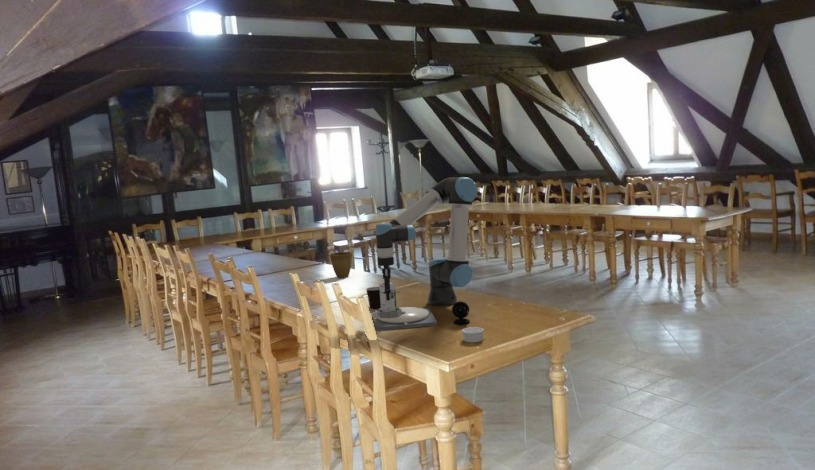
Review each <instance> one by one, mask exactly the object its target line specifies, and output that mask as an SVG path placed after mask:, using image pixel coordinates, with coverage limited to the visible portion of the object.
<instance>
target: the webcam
mask: <svg viewBox="0 0 815 470" xmlns="http://www.w3.org/2000/svg"><path fill="white" fill-rule="evenodd" d="M451 311H452V315H453V316H454V317H455V319H453V321H452V324H454V325H455V326H456V325H457V326H466V325H469V324H470V323H471V322H470V319H468V318H466V317H467V316H468V315H469V314H470V307H469V305H468V304H467V303H466V301H465V302H464V301H457V302H456V303H455V304H452V307H451Z"/></svg>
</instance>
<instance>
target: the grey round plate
mask: <svg viewBox="0 0 815 470" xmlns="http://www.w3.org/2000/svg"><path fill="white" fill-rule="evenodd" d="M423 308H424V307H417V306H416V307H415V306H412V307H411V306H404V307H399V306H398V307H397V312H390V313H384V312H381V308H379V309H378V310H377V311H376V312H377V313H378V320H380V321H382V322H386V323H409V322H415V321H420V320H423V319H425V318H427V317H428V316H429V312H428V310H426V309H423Z"/></svg>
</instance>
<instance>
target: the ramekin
mask: <svg viewBox="0 0 815 470" xmlns="http://www.w3.org/2000/svg"><path fill="white" fill-rule="evenodd" d="M484 330H485V329H484V328H482V327H479V326H470V327H464V328H462V329H461V332H462V338H463V341H464V342H466V343H472V344H473V343H479V342H482V341H483V340H484Z"/></svg>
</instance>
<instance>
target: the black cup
mask: <svg viewBox="0 0 815 470" xmlns="http://www.w3.org/2000/svg"><path fill="white" fill-rule="evenodd" d="M366 294H367V299H368V305H369V309H371V310H377V309H378V310H380V309H381V302H380V288H379V286H372V287H370V286H369V287H368V288H366Z"/></svg>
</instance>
